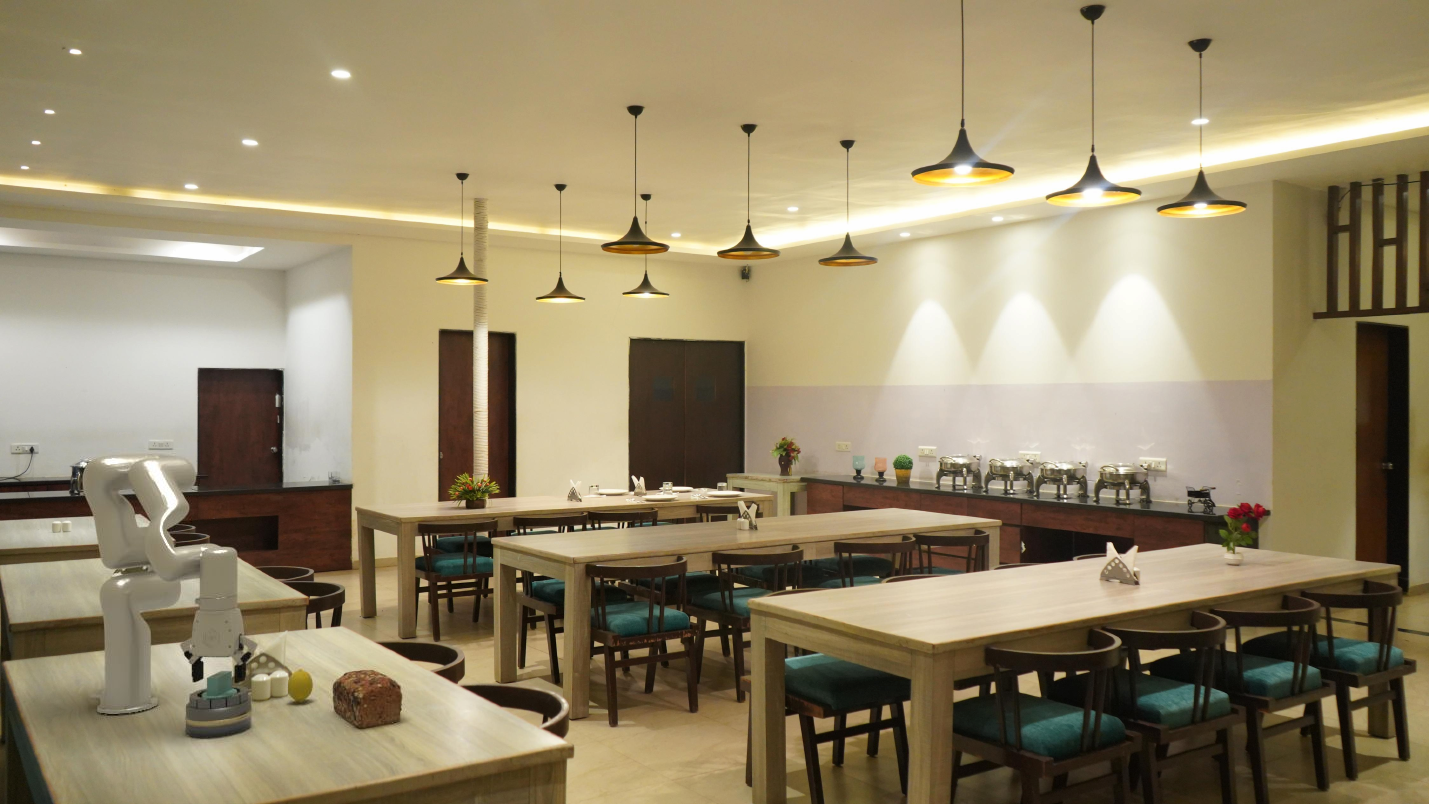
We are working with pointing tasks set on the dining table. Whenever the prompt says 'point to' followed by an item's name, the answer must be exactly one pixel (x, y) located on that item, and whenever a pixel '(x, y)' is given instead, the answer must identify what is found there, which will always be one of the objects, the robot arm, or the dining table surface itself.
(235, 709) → the lens barrel
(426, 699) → the dining table surface
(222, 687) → the teal knob
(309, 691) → the lemon
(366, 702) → the bread
